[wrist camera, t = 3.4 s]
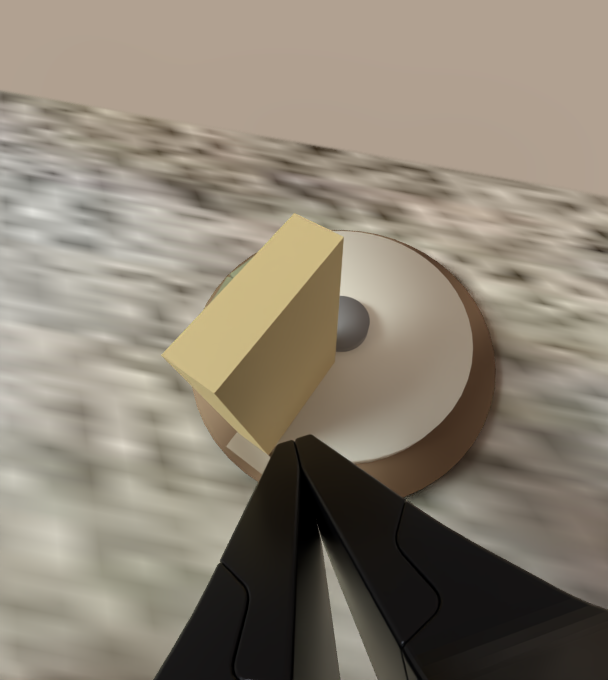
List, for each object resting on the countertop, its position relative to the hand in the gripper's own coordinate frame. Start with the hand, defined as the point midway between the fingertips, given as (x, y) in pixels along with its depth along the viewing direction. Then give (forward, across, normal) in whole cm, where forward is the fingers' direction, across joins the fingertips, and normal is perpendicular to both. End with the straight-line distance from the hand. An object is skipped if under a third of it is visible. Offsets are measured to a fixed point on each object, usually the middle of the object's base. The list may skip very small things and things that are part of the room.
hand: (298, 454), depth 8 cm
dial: (+8, -3, +1) cm, 9 cm away
